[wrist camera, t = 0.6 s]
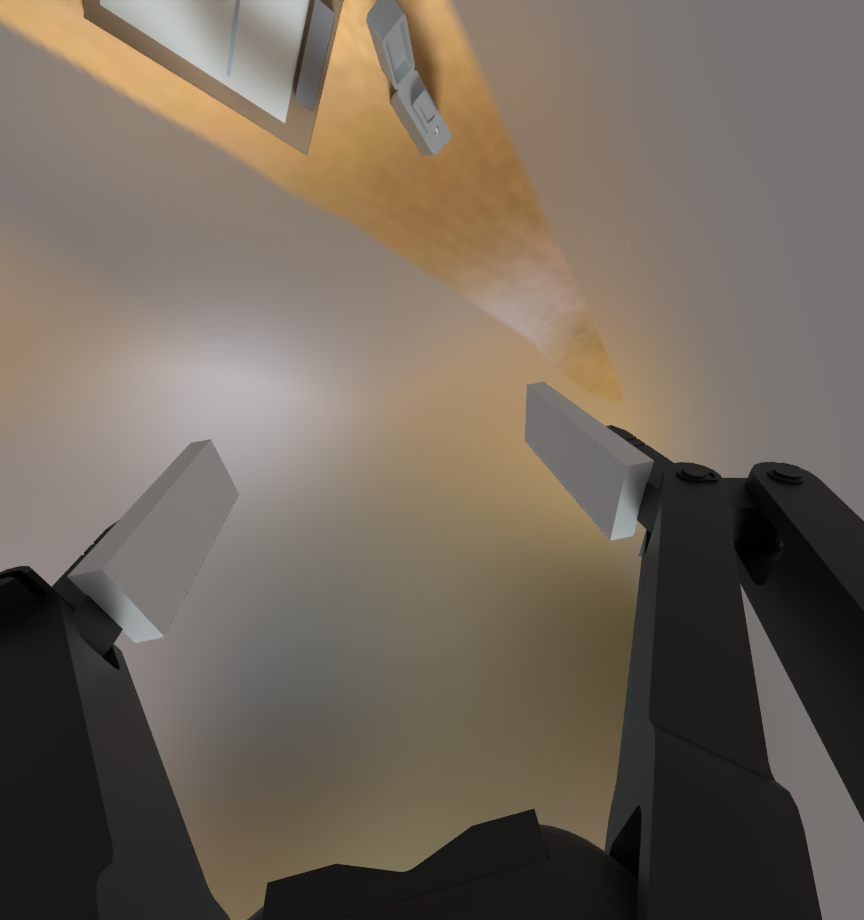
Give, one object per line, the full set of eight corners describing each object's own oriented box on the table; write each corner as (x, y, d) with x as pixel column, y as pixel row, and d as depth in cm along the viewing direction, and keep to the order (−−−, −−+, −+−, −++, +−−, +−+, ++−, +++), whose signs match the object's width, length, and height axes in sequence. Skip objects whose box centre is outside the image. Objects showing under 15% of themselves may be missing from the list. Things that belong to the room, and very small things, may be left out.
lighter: (439, 140, 28) (466, 132, 22) (423, 157, 28) (445, 154, 22) (376, 29, 23) (389, -19, 17) (359, 52, 24) (366, 13, 18)
